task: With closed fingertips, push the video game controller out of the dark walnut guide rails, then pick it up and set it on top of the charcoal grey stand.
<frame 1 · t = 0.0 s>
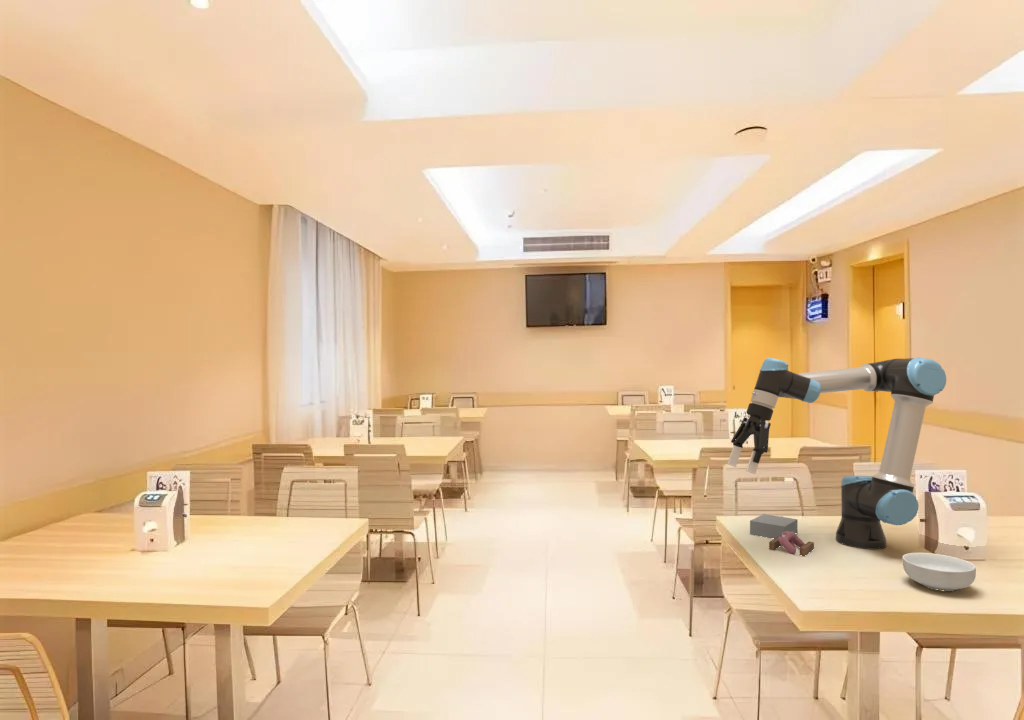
hand: (740, 469, 193), 28 cm above the table, tool tilted 20°, fingers open, 13 cm apart
walnut guide rails: (791, 549, 201), on the table
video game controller: (791, 550, 201), on the table
charcoal stand: (773, 533, 220), on the table
cereal bowl: (938, 587, 168), on the table
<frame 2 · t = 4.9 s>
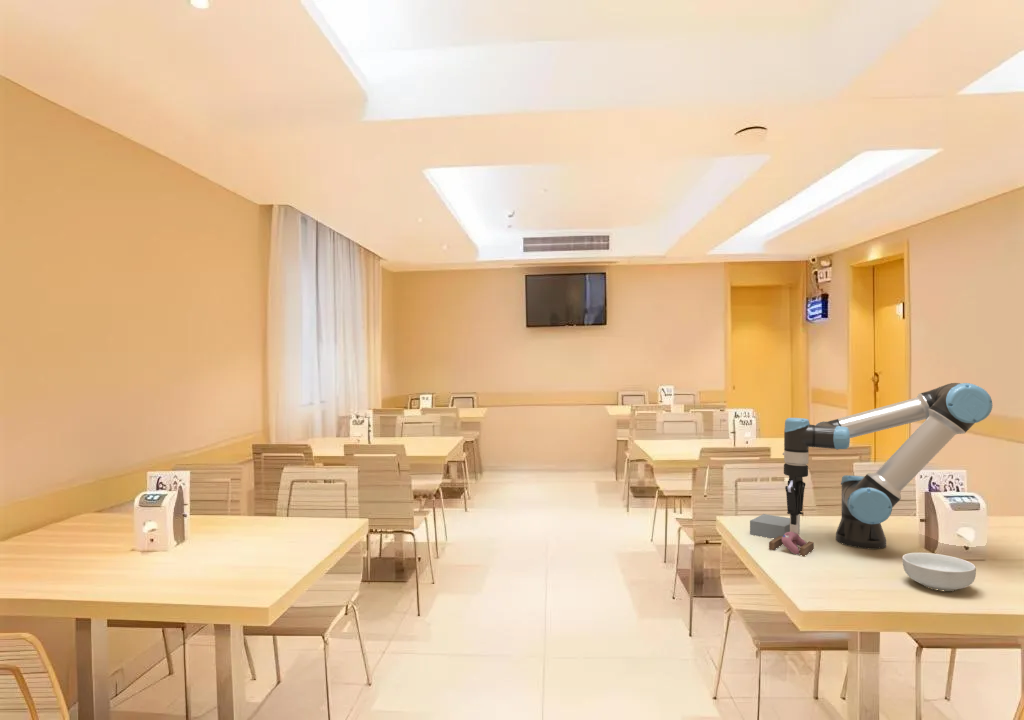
hand: (794, 533, 205), 4 cm above the table, tool pointing down, fingers closed
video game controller: (794, 551, 200), on the table, touching gripper
everything else where it was.
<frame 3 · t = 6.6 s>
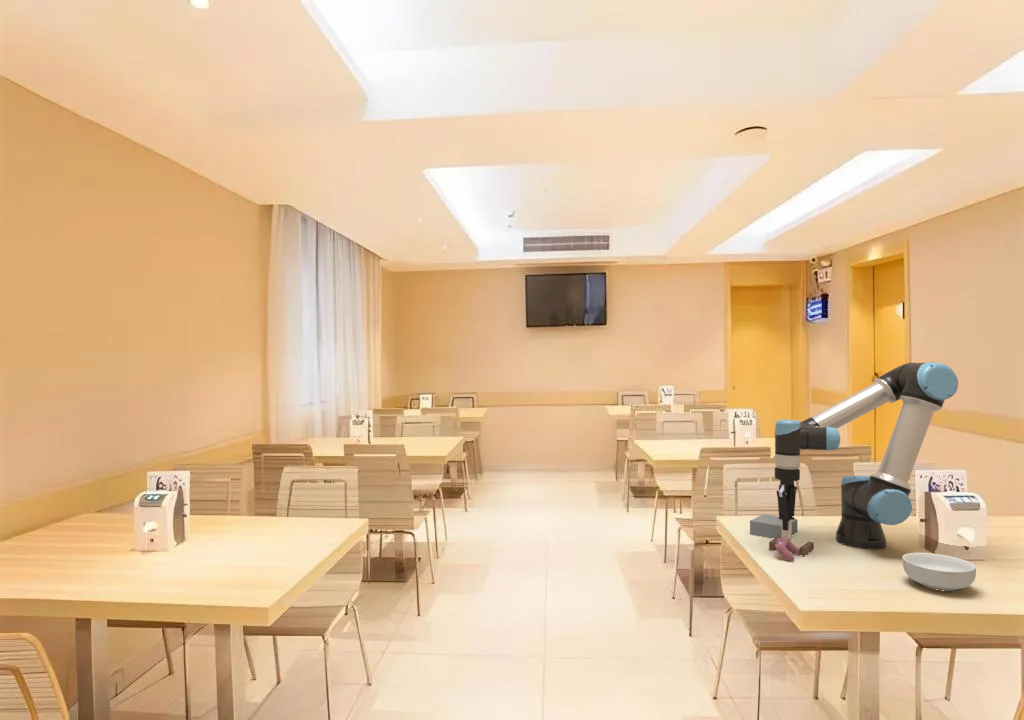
hand: (786, 539, 198), 4 cm above the table, tool pointing down, fingers closed
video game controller: (787, 557, 193), on the table, touching gripper
everything else where it was.
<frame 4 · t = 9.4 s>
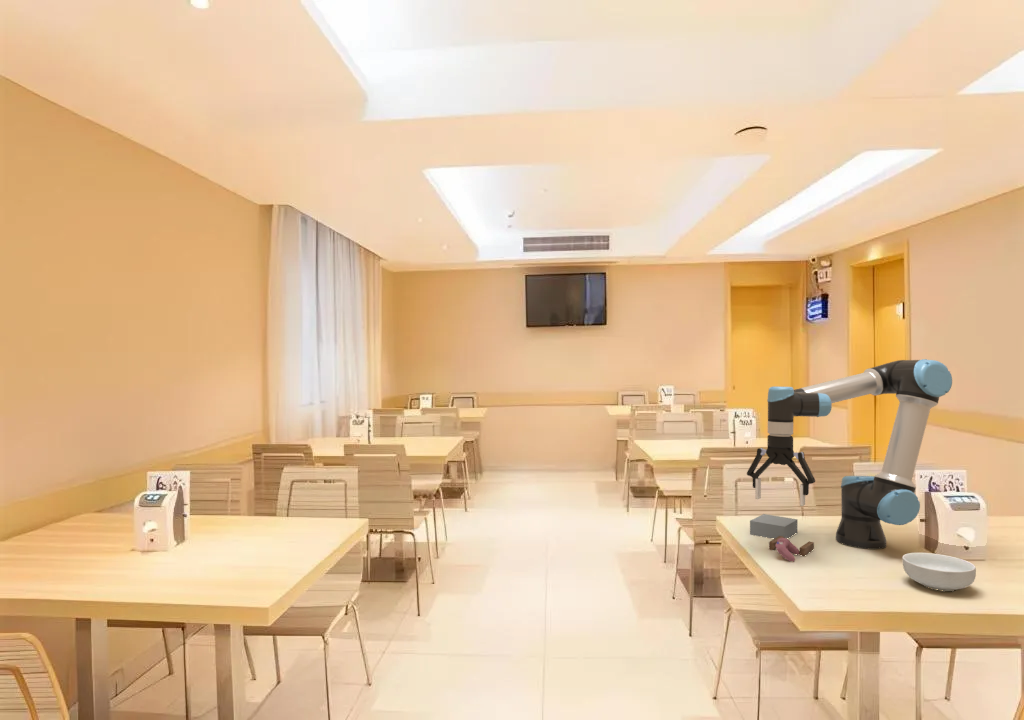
hand: (779, 501, 193), 17 cm above the table, tool pointing down, fingers open, 13 cm apart
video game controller: (787, 558, 193), on the table
everything else where it was.
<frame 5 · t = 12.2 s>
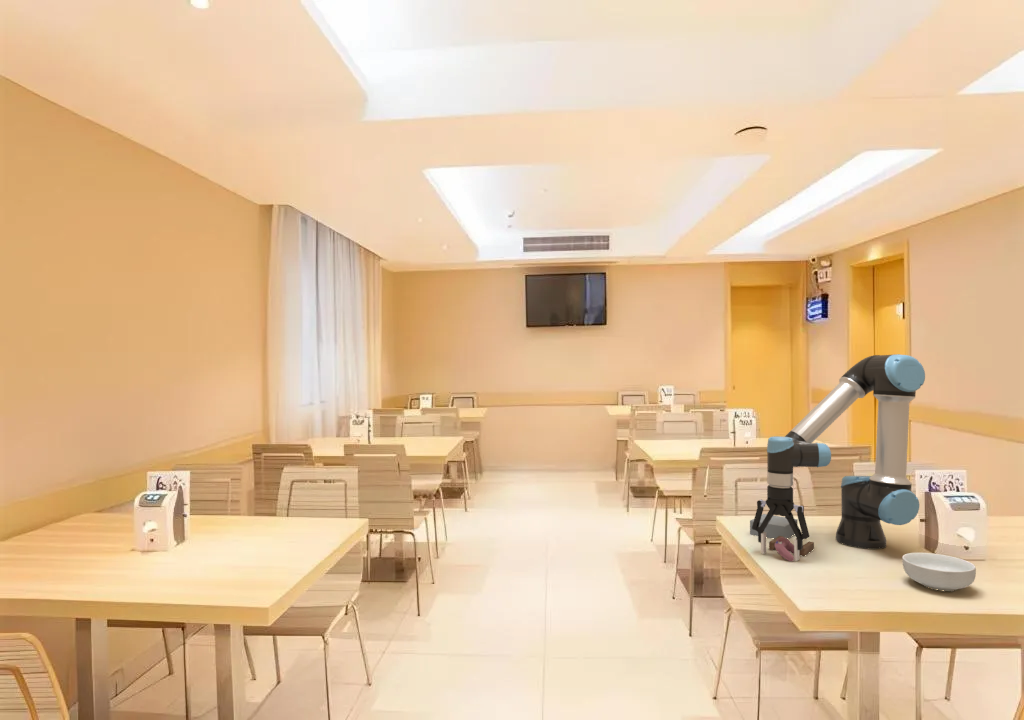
hand: (780, 556, 193), 0 cm above the table, tool pointing down, fingers open, 9 cm apart
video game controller: (786, 557, 193), on the table, touching gripper
everything else where it was.
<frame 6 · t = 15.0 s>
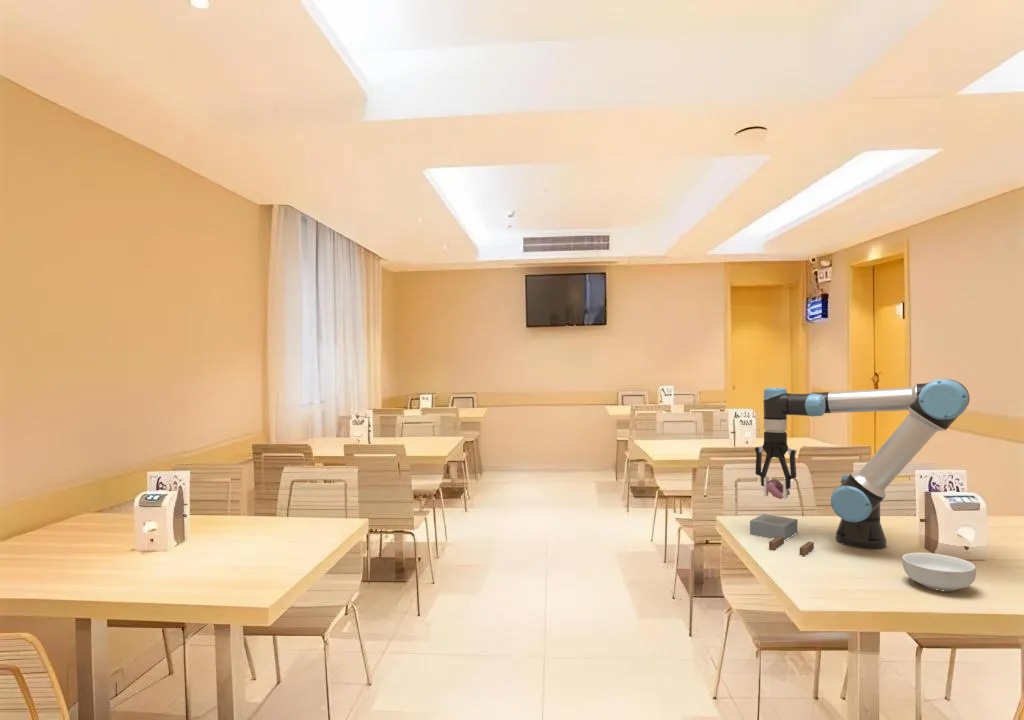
hand: (775, 496, 215), 15 cm above the table, tool pointing down, fingers closed on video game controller, 6 cm apart
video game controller: (777, 497, 216), point 14 cm above the table, touching gripper
everything else where it was.
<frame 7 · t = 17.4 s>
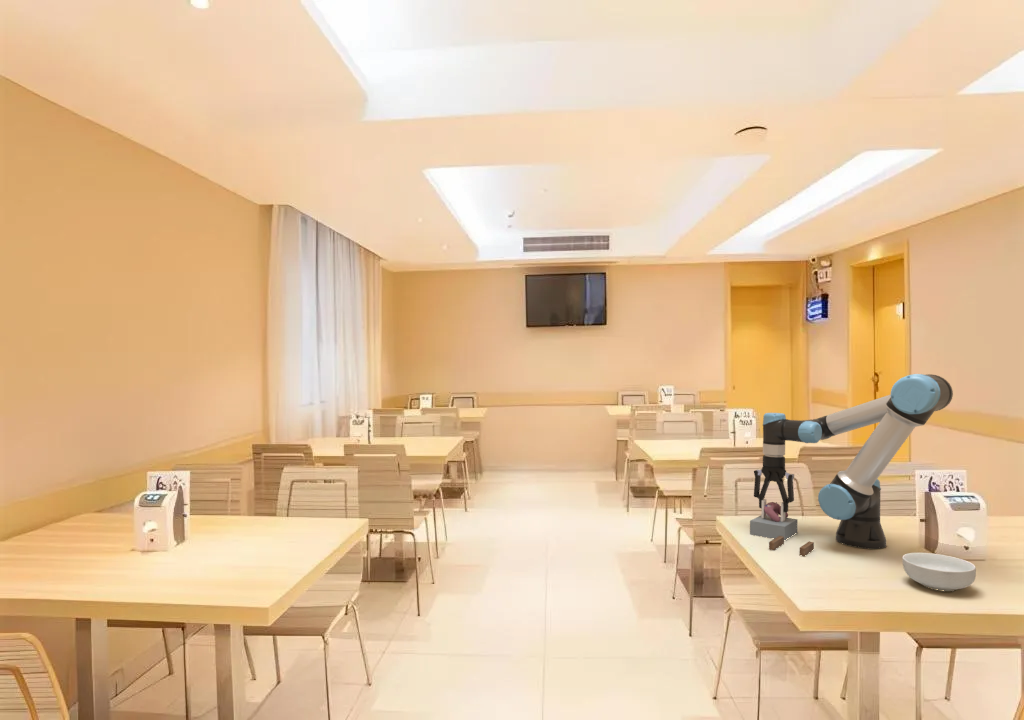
hand: (773, 519, 221), 5 cm above the table, tool pointing down, fingers closed on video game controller, 6 cm apart
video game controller: (775, 519, 222), point 5 cm above the table, touching charcoal stand, gripper
everything else where it was.
when the fingers open (5 cm above the table, at t = 17.4 s): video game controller stays where it is, resting on charcoal stand.
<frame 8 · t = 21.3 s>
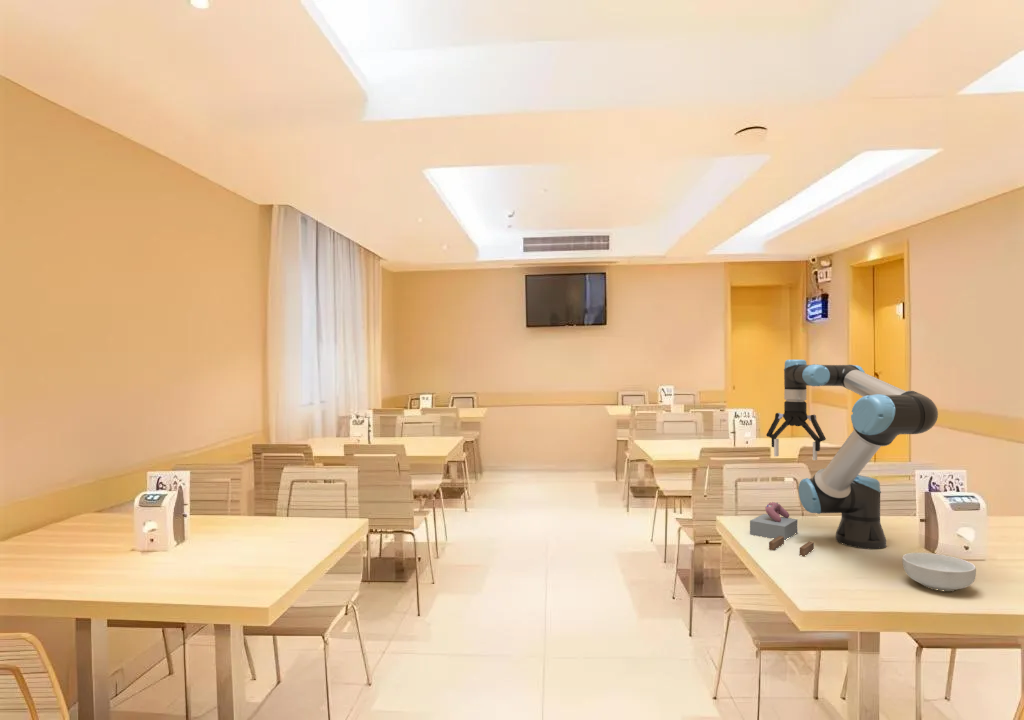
hand: (795, 458, 226), 27 cm above the table, tool pointing down, fingers open, 13 cm apart
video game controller: (776, 519, 222), point 5 cm above the table, touching charcoal stand
everything else where it was.
at the end: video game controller inside the target area on the charcoal stand (2.3 cm from its centre), point 4.8 cm above the charcoal stand's base; the gripper is holding nothing; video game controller tilted 1° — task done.
